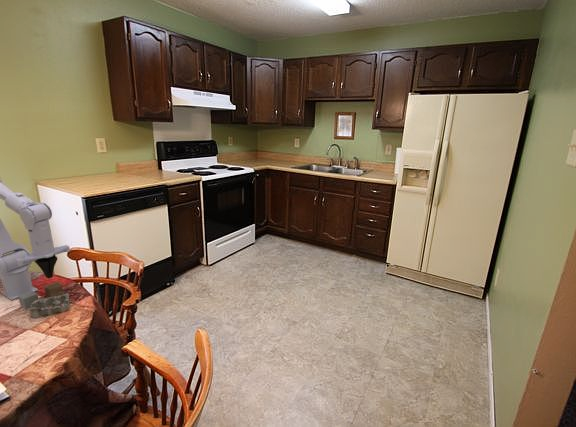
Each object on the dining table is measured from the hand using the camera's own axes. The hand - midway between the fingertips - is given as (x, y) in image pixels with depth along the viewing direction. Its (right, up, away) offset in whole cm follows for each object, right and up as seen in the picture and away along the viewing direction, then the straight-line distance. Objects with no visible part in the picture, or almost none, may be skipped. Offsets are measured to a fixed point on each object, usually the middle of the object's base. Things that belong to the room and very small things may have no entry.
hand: (49, 277), depth 106 cm
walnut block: (-3, -8, +6) cm, 10 cm away
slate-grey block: (-7, -10, 0) cm, 12 cm away
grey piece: (+2, -11, -2) cm, 11 cm away
